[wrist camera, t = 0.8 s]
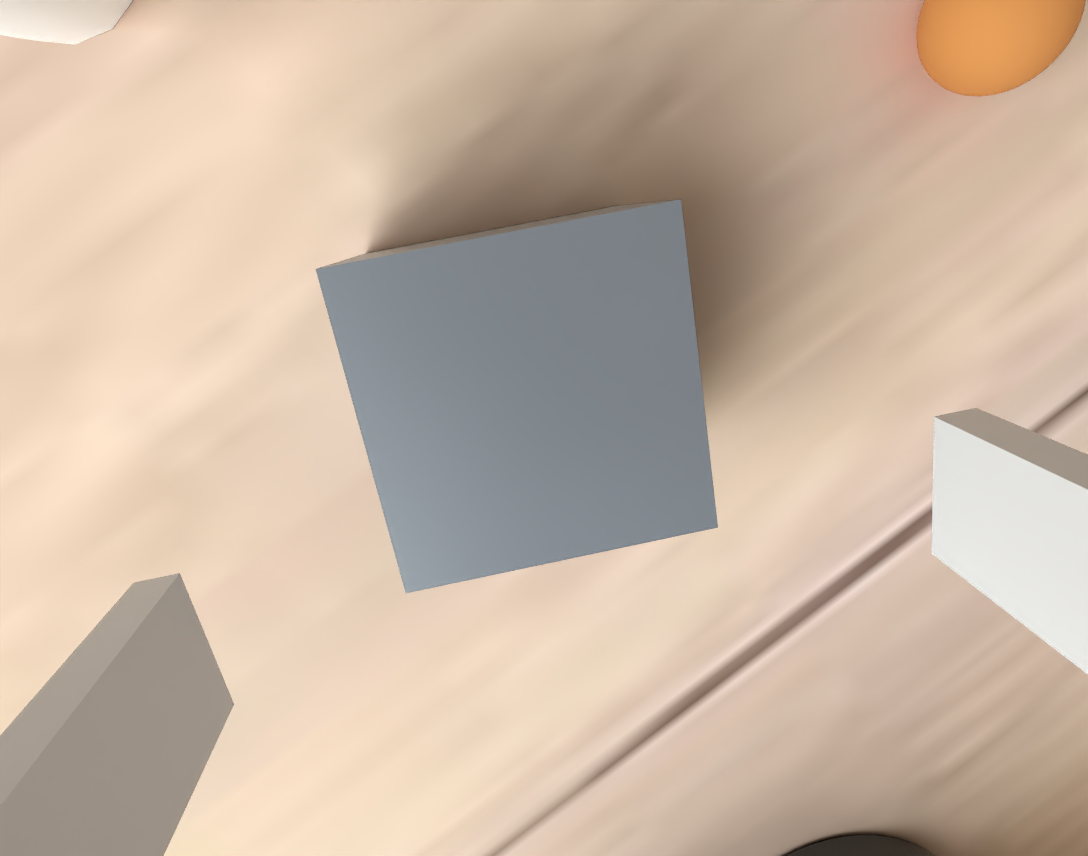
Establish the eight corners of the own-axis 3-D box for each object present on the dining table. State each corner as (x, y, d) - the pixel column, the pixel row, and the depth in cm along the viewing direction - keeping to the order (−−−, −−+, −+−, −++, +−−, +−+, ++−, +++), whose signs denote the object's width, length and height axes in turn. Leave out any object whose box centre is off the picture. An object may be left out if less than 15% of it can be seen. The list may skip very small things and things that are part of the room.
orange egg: (1008, 94, 27) (1120, 67, 23) (890, 116, 27) (977, 94, 23) (1013, -49, 26) (1133, -109, 21) (887, -26, 26) (980, -82, 21)
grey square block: (650, 442, 30) (717, 527, 22) (424, 488, 30) (405, 593, 22) (617, 205, 27) (681, 199, 19) (365, 253, 27) (315, 269, 18)
